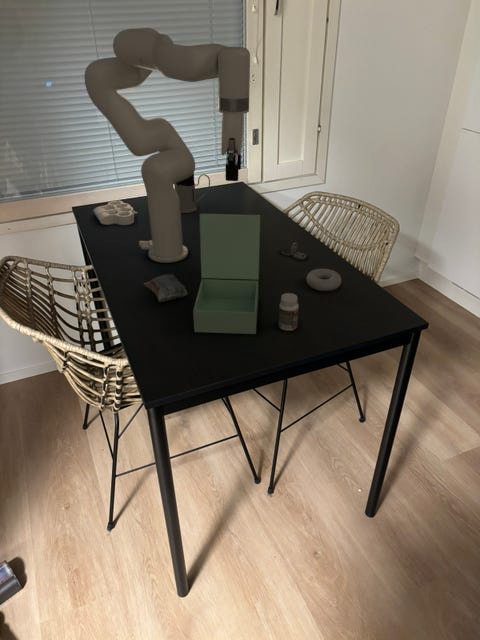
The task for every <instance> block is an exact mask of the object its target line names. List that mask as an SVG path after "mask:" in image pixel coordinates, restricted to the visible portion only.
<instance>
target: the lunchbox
mask: <svg viewBox="0 0 480 640" xmlns="http://www.w3.org/2000/svg"><path fill="white" fill-rule="evenodd" d="M259 284H260V283H259V280H250V279H217V278H201V280H200V284H199V287H198V291H197V295H196V299H195V302H194V306H193V310H192V318H193V331H194V333H210V334H211V333H212V334H213V333H214V334H238V335H239V334H241V335H242V334H243V335H256V334H257V326H258V325H257V324H258V307H259Z"/></svg>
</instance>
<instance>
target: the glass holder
mask: <svg viewBox="0 0 480 640" xmlns="http://www.w3.org/2000/svg"><path fill="white" fill-rule="evenodd" d="M202 176H205V177H206V178H207V179H208V187H207V189H206V191H205V193H204V194H203V195H202V196H200V197H199V198H198V199H197V197H196V187H197V186H199V185H200V179H201V177H202ZM210 186H211V178H210V177H209V175H207V174H206V173H205V174H204V173H203V174H200V175H199V176H198V179H197V184H196V183H195V172H194V173H193V175H192V176H190V177H189V178H187V179H185V180H182V181H180V182H177V183H175V184H174V185H173V187H174V189H175V191H176V193H177V194H178V197H179V200H180V212H181V214H188V213H189V214H190V213H193V212H196V211H197V210H198V206H197V203H198V202H199V201H200V200H202V199H203V198H204V197H205V196H206V195H207V194H208V192H209V191H210ZM196 199H197V200H196Z"/></svg>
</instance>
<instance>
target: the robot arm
mask: <svg viewBox="0 0 480 640" xmlns="http://www.w3.org/2000/svg"><path fill="white" fill-rule="evenodd" d="M112 50H113V53H114V55H115V56H113V57H112V56H111V57H104V58H99V59H96V60H93V61H92V62H90V63H89V64H88V65H87V67H86V68H85V70H84V78H83V79H84V85H85V90H86V92H87V94H88V97H89V99H90V100H91V102H92V103H93V105H94V106H95V108H96V109H97V110H98V111H99V112H100V113H101V114H102V115H103V116H104V117H105V119H106V120H107V121H108V123H109V124H110V125H111V126H112V128H113V130H114V131H115V133H116V134H117V135H118V137H119V138H120V139H121V141H122V143H123V144H124V145H125V147H126V148H127V150H129V152H130V153H131V154H132V155H133V156H134V157H135V156H136V157H145V156H148V155H149V156H148V157H146V158H145V159H144V161H142V164H141V167H140V174H141V178H142V181H143V184H144V188H145V192H146V198H147V199H146V200H147V207H148V215H149V226H150V234H151V239H149V240H139V242H138V246H139V247H140V248H141V250H145V251H146V250H148V252H147V253H148V258H149V259H150V260H152V261H154V262H158V263H162V264H163V263H164V264H166V263H167V264H169V263H176V262H179V261H182V260H184V259H186V257H188V255H189V249H188V247H186V246H185V245H184V244H183V227H182V213H181V212H180V200H179V197H178V194H177V193H176V191H175V188H174V184H175V183H177V182H180V181H182V180H185V179H187V178H189V177H190V176H192V175H193V173H194V174H195V171H196V160H195V157H194V155H193V154H192V152H191V150H190V148H189V147H188V146H187V144H186V142H185V141H184V139H182V137H181V135H180V134H179V133H178V131H177V130H176V129H175V127H174V125H172V124H171V122H169V121H168V120H167V119H165V118H163V117H159V116H157V117H156V116H154V117H149V118H145V117H143V116H142V115H141V114H140V112H139V111H138V110H137V108H136V107H135V105H134V104H132V102H131V101H130V100H128V99H127V98H126V97H125V96H123V95H121V94H120V93H119V92H118V91H126V90H130V89H135V88H138V87H140V86H141V85H142V84H143V83H144V82H145V81H146V80H147V79H148V77H150V76H151V74H152V72H153V71H155V72H159V74H160V75H162V76H163V77H165V78H168V79H173V80H177V81H182V82H188V83H196V82H201V81H207V80H214V79H217V87H218V90H217V94H218V95H217V96H218V97H217V99H218V105H217V106H218V112H219V113H220V114H221V115H222V116H221V145H220V146H221V147H220V148H221V149H220V154H221V155H222V156H224V155H226V156H225V157H226V158H225V159H226V160H225V181H227V182H238V181H239V171H241V169H242V154H241V153H242V150H243V144H244V136H245V135H244V134H245V133H244V132H245V114H247V113H249V112H250V89H251V88H250V83H251V80H250V79H251V53H250V51H249V49H248V48H246V47H243V46H226V45H224V44H220V43H204V44H195V45H194V44H193V45H183V44H175V43H174V41H173V39H172V38H171V37H170V36H169V35H167V34H164V33H160V32H159V31H158V30H156V29H154V28H152V27H141V28H140V27H137V28H126V29H123V30H121V31H119V32H117V34H116V35H115V36H114V38H113V42H112Z"/></svg>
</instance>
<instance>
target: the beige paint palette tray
mask: <svg viewBox="0 0 480 640" xmlns="http://www.w3.org/2000/svg"><path fill="white" fill-rule="evenodd" d="M92 212H93V214H94V215H95V217H96V218H97V219H98V221H99V222H100V224H102V225H107V226H108V225H119V226H130V225H132V224H134V223H135V215H137V214H139V213H138V211H135V210H134V206H131V204H129V203H125V202H124V201H123V200H111V201H108V202H107V204H105V205H100V206H97V207H95V208H94V209H93V210H92Z"/></svg>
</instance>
